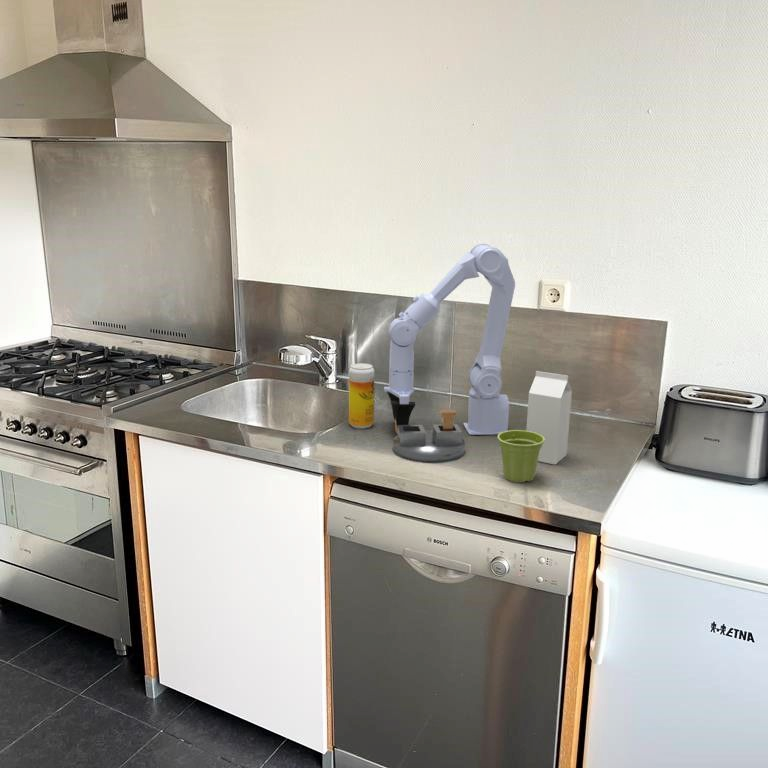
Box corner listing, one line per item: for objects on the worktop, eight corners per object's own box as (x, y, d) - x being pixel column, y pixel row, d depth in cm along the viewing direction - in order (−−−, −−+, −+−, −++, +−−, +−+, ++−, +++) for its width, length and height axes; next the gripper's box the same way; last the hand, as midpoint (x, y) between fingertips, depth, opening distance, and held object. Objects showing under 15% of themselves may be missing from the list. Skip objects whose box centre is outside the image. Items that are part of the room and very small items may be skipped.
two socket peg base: (457, 437, 179) (459, 400, 177) (471, 462, 164) (472, 422, 161) (389, 438, 178) (390, 401, 175) (396, 463, 162) (397, 423, 160)
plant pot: (489, 481, 154) (491, 440, 151) (502, 466, 162) (504, 427, 160) (535, 489, 150) (538, 447, 148) (546, 473, 158) (549, 433, 156)
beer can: (370, 430, 183) (371, 369, 179) (346, 428, 185) (346, 368, 181) (376, 422, 189) (376, 363, 185) (352, 420, 190) (352, 362, 186)
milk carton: (555, 465, 163) (562, 379, 158) (524, 458, 166) (529, 374, 161) (566, 455, 168) (573, 372, 163) (536, 449, 172) (542, 367, 167)
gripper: (381, 362, 185) (380, 415, 189) (387, 377, 171) (386, 434, 175) (410, 362, 186) (409, 415, 190) (418, 377, 172) (416, 434, 176)
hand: (400, 424), depth 182 cm, fingers open, 7 cm apart
